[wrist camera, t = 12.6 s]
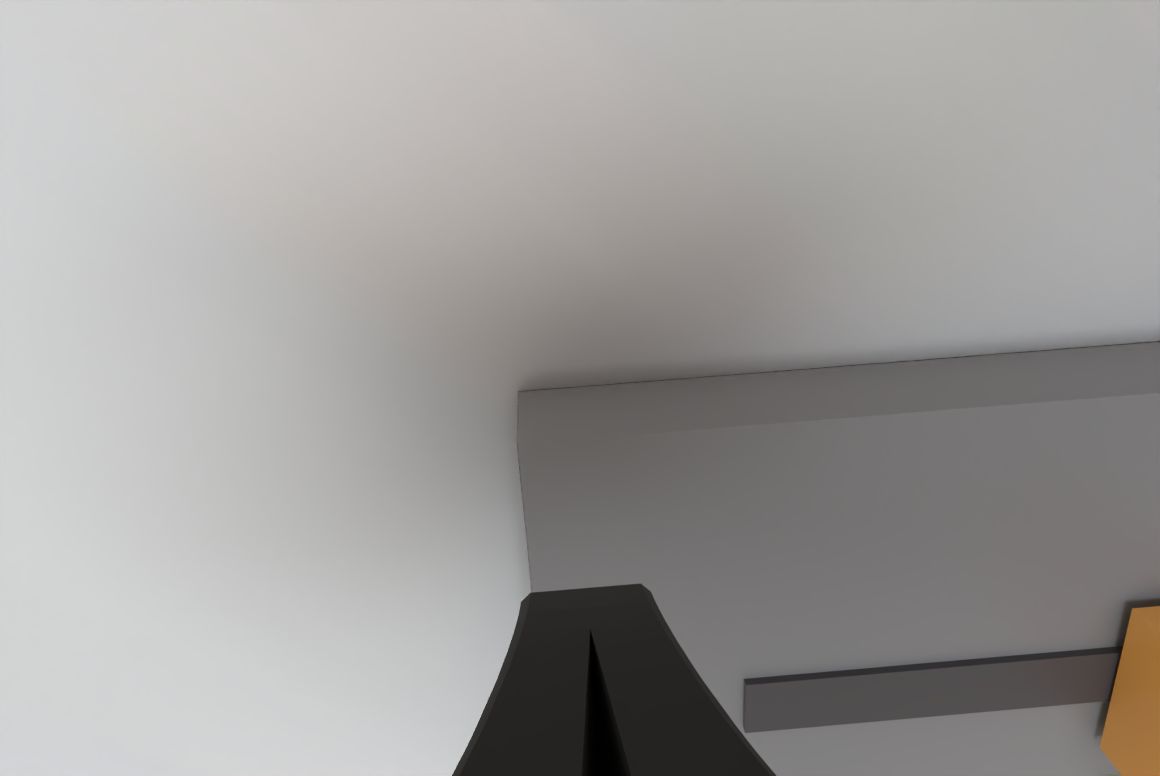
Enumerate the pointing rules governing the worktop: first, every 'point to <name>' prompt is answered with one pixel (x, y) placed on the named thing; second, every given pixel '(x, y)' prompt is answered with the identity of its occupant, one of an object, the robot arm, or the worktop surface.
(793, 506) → the breaker panel
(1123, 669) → the block
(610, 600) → the robot arm
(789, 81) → the worktop surface
